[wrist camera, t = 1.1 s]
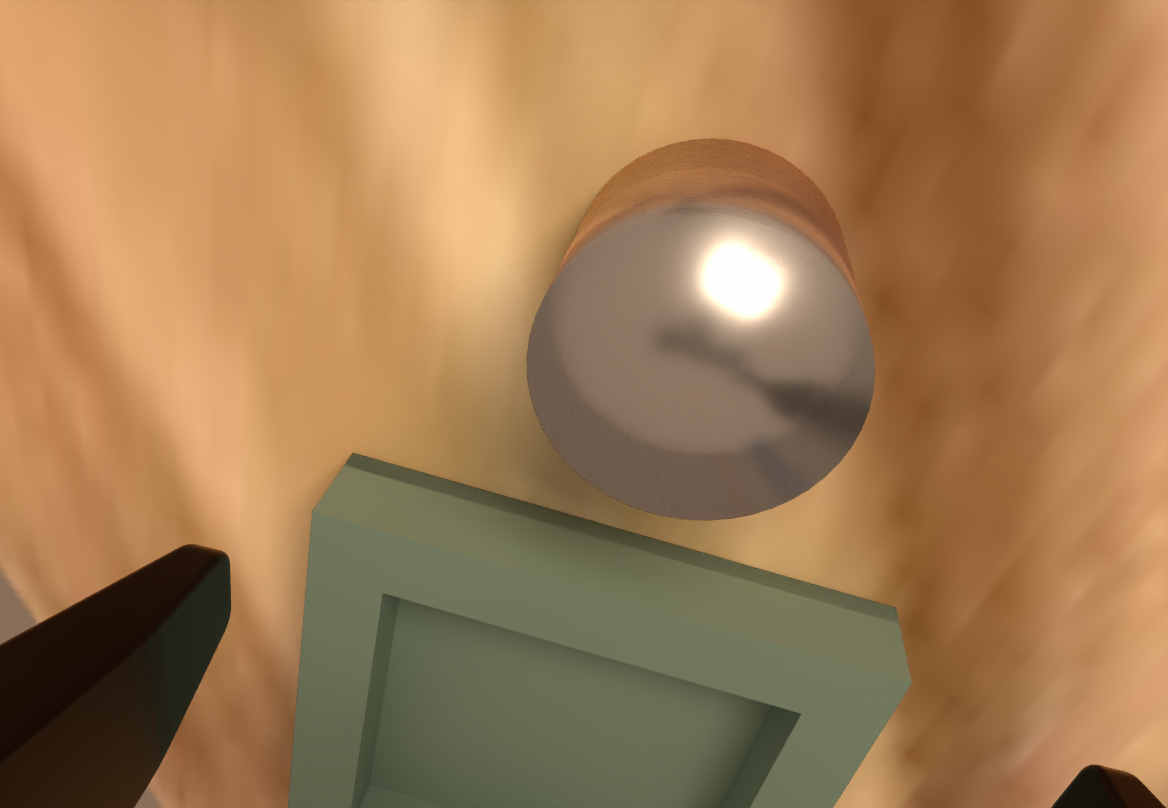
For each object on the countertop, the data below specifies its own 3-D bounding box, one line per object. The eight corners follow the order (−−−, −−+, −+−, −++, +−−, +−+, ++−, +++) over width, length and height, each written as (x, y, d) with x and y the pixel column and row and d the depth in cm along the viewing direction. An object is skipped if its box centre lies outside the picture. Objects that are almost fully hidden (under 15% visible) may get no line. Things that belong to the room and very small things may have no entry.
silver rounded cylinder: (891, 182, 18) (936, 273, 14) (790, 421, 21) (800, 556, 17) (608, 104, 18) (566, 170, 14) (549, 353, 21) (499, 469, 17)
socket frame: (896, 607, 23) (912, 683, 21) (722, 906, 31) (720, 984, 29) (352, 452, 24) (312, 511, 21) (316, 787, 31) (284, 855, 29)
